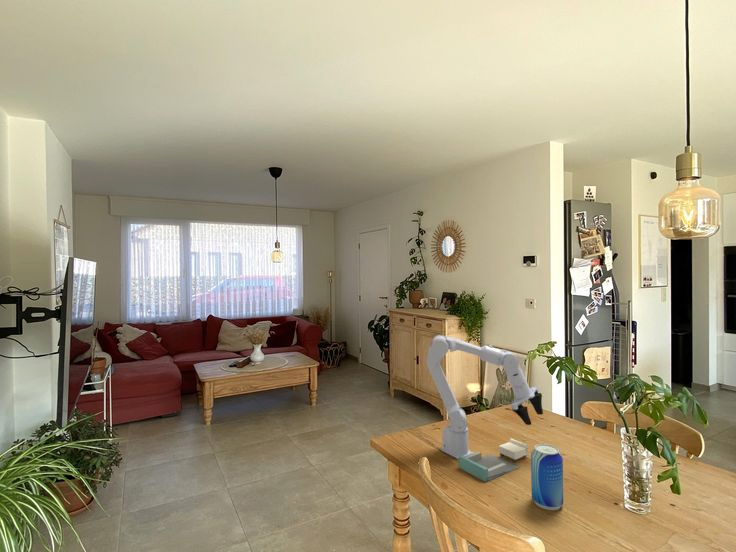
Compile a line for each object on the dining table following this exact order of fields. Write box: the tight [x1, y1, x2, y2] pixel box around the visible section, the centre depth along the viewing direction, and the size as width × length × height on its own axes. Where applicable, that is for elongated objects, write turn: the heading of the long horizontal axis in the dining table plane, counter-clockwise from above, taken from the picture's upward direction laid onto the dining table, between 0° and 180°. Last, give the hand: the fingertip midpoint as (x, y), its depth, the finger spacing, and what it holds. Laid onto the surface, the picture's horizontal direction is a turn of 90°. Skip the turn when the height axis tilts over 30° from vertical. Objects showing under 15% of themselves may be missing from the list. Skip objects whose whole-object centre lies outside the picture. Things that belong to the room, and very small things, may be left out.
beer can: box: [530, 443, 564, 511], centre depth 116 cm, size 8×8×16 cm
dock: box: [458, 451, 521, 483], centre depth 138 cm, size 12×18×5 cm
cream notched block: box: [498, 438, 529, 463], centre depth 145 cm, size 7×7×5 cm
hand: (534, 419), depth 144 cm, fingers open, 7 cm apart
